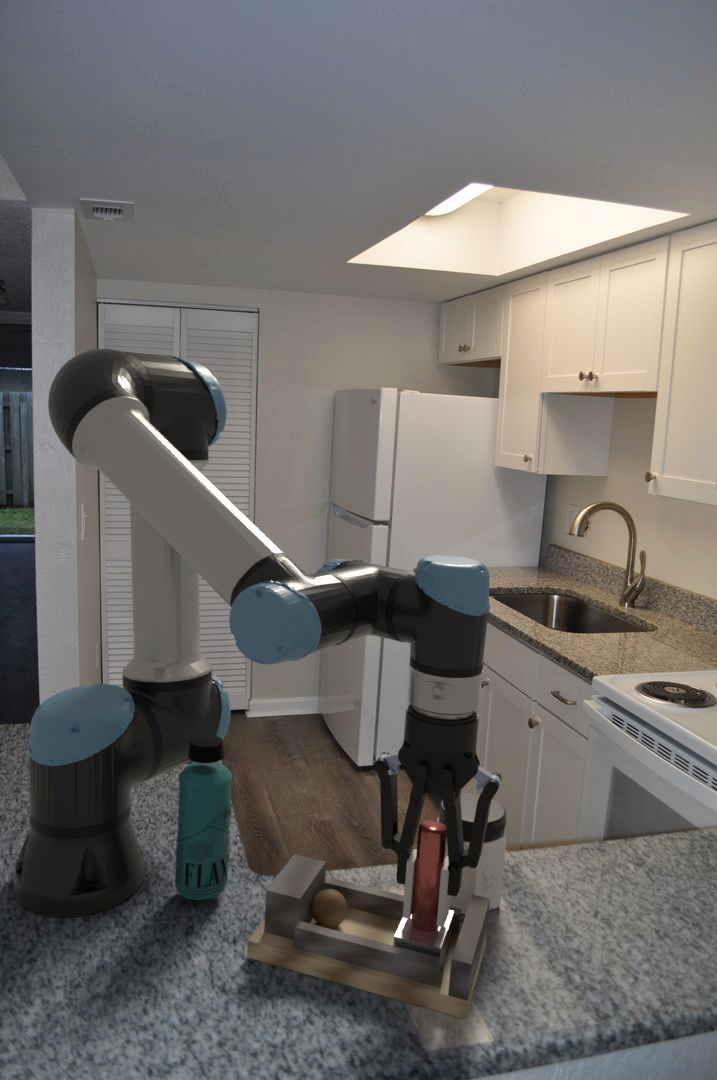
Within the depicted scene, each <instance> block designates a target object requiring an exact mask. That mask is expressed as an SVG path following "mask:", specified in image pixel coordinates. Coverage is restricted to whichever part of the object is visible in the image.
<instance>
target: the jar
mask: <svg viewBox="0 0 717 1080" xmlns="http://www.w3.org/2000/svg"><path fill="white" fill-rule="evenodd" d="M480 794H481V793H474V792H461V798H460V800H461V814H462V828H463V842H464V849H469V844H470V839H471V834H472V828H473V823H474V817H475V812H476V807H477V802H478V799H479V796H480ZM505 808H506V807H505V806H504V805H503V804H502V803H501V802H500V801H498V800H496V799H494V797H493V798H492V801H491V806H490V811H489V817H488V822H487V827H486V833H485V838H484V843H483V848H482V853H481V856H480V859H479V862H478V865H477V867H476V868H470V867H469V866H468V867H464V868H463V869H462V880H461V887H460V890H459V893H458V895H457V896H456V897H455V896H451V895H450V904H449V906H450V907H454V908H458V909H461V912H462V913H464V914H466V913H467V909H468V906H469V903H470V900H471V897H472V894H473V895H477V896H481V897H485V898H490V904H489V910H491V909H493V908H496V907H499V906H500V907H501V898H502V888H503V879H504V878H503V877H504V870H505V869H504V865H505V858H506V857H505V856H506V847H507V835H506V833H505V829H506V826H507V825H506V824H507V811H506V809H505ZM436 822H440V823H442V824H444V825H445V826H446V821H445V808H444V807H443V798H442V800H441V801H440V804H439V814H438V817H436ZM446 856H448V847H447V837H446V849H445V859H446ZM444 861H445V860H444ZM500 907H499V908H500ZM496 909H497V908H496ZM493 910H494V909H493ZM491 911H492V910H491Z"/></svg>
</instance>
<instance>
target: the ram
mask: <svg viewBox="0 0 717 1080" xmlns="http://www.w3.org/2000/svg"><path fill="white" fill-rule="evenodd" d="M417 831H418V832H417V841H416V842H417V844H416V849H417V855H416V867H415V880H414V893H413V906H412V914H411V917H410V919H407V918H402V920H401V922H400V925H399V927H398V929H397V931H396V933H395V936H394V945H393V946H397V947H401V948H405V949H409V950H412V951H416V952H420V953H424V954H428V955H431V956H435V957H439V958H443V959H444V958H445V955H446V952H447V949H448V946H449V943H450V940H451V937H452V931H453V920H454V911H453V910H449V914H448V917H447V920H446V922H445V925H444V928H443V927H439V926H437V915H438V903H439V891H440V879H441V868H442V866H443V864H444V860H445V849H446V837H447V834H446V826H445V825H444V824H442V823H440V822H437V820H424V821H422V822H419V824H418V828H417Z"/></svg>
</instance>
